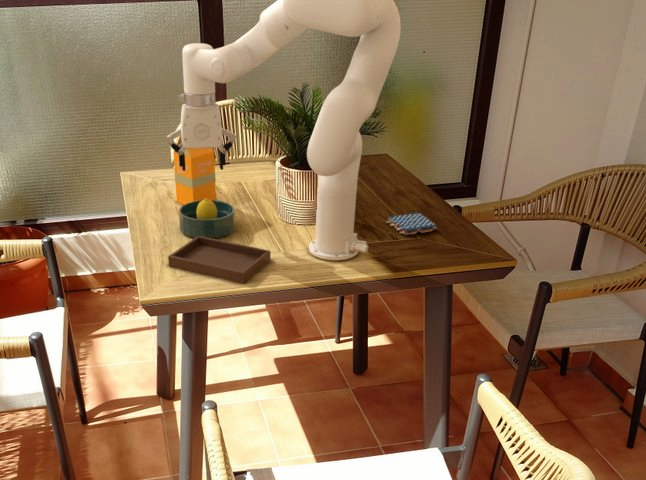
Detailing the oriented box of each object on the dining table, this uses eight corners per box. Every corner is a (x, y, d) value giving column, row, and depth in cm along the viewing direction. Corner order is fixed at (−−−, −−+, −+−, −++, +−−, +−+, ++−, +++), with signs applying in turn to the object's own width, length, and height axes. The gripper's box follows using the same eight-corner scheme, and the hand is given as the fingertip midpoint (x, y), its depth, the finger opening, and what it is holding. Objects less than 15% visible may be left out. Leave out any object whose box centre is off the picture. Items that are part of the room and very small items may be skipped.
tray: (270, 260, 180) (270, 250, 179) (243, 283, 170) (243, 273, 168) (198, 244, 188) (198, 235, 186) (168, 266, 177) (167, 256, 176)
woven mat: (418, 217, 205) (419, 210, 203) (437, 231, 196) (438, 224, 195) (385, 222, 202) (385, 215, 200) (403, 236, 193) (404, 229, 192)
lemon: (214, 232, 194) (213, 203, 189) (194, 230, 194) (193, 201, 190) (220, 224, 198) (219, 196, 194) (200, 222, 199) (199, 194, 194)
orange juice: (216, 200, 214) (213, 131, 203) (193, 208, 209) (189, 138, 198) (198, 194, 219) (195, 126, 207) (176, 201, 213) (171, 132, 202)
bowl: (244, 224, 199) (244, 205, 196) (217, 244, 188) (216, 224, 185) (198, 215, 205) (197, 196, 202) (169, 233, 194) (168, 214, 191)
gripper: (164, 103, 174) (169, 174, 183) (237, 102, 176) (237, 172, 186) (163, 96, 180) (168, 165, 190) (233, 95, 182) (234, 162, 192)
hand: (202, 168), depth 188 cm, fingers open, 9 cm apart
